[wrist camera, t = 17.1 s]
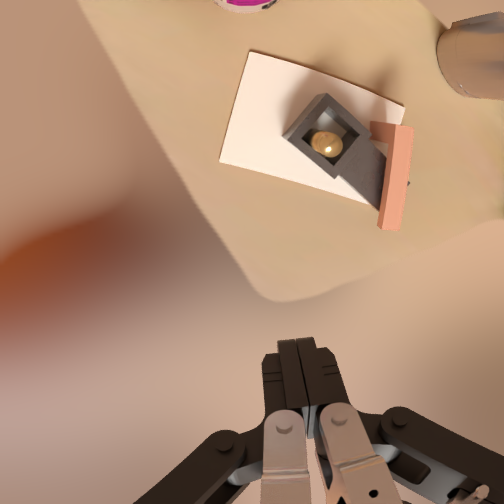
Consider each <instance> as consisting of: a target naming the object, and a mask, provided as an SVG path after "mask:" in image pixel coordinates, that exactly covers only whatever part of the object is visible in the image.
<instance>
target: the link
mask: <svg viewBox="0 0 504 504" xmlns="http://www.w3.org/2000/svg"><path fill="white" fill-rule="evenodd" d="M323 112H325V113H326V114H327V115H329V116H330V117H331V118H332V119H333V120H334V121H335V122H337V123H338V124H339V125H340V126H341V127H342V128H343V129H344V130H345V131H347V132H346V133H345V134H344V136H343V137H342V138H341V140H342V144H343V146H342V150H341V152H340V153H339V154H338V155H337V156H335V157H327V156H326V157H325V158H324V157H322V156H321V155H320V154H319V153H318V152H317V151H315V150H314V149H313V148H312V147H311V146H309V145H308V144H307V143H306V142H304V141H303V140H302V139H301V138H302V137H303V136H304V135H305V133H306V132H307V131H308V130H309V129H310V127H311V126H312V125H313V124H314V123H315V122H316V120H317V119H318V118H319V117H320V116H321V114H322V113H323ZM371 136H372V133H370V132H369V131H368V130H367V129H366V128H365V127H364V126H363V125H362V124H361V123H360V122H359V121H358V120H357V119H356V118H355V117H354V116H353V115H352V114H350V113H349V112H348V111H347V110H346V109H345V108H344V107H343V106H342V105H341V104H339V103H338V102H337V101H336V100H335V99H334V98H333V97H331V96H330V95H329V94H328V93H323V94H318V95H316V96H315V97H314V99H313V100H312V101H311V102H310V103H309V104H308V106H307V107H306V108H305V109H304V110H303V112H302V113H301V114H300V115H299V116H298V118H297V119H296V120H295V121H294V122H293V123H292V125H291V126H290V127H289V128H288V130H287V131H286V132H285V133H284V134H283V136H282V137H283V138H284V139H285V140H286V141H288V142H289V143H290V144H291V145H293V146H294V147H295V148H296V149H298V150H299V151H300V152H301V153H303V154H304V155H305V156H306V157H308V158H309V159H310V160H311V161H312V162H314V163H315V164H316V165H317V166H318V167H319V168H321V169H322V170H323V171H324V172H325V173H327V174H328V175H329V176H331V177H332V178H333V179H335V178H336V177H337V176H339V177H340V178H341V179H342V180H344V181H345V182H346V183H347V184H348V185H349V186H350V187H351V188H352V189H353V190H355V191H356V192H357V193H358V194H359V195H360V196H361V197H362V198H363V199H364V200H365V201H366V202H367V203H368V204H370V205H371V206H372V207H373V208H375V209H376V210H377V211H378V212H379V211H380V204H381V198H382V191H383V184H384V176H385V169H386V160H387V158H386V157H385V156H384V154H383V153H382V152H381V151H380V150H379V149H378V148H377V147H376V146H375V145H374V144H373V143H372V142H371V141H370V140H369V138H370V137H371ZM409 184H410V182H409V181H408V184H407V186H408V185H409Z"/></svg>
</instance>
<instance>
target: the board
mask: <svg viewBox="0 0 504 504" xmlns="http://www.w3.org/2000/svg"><path fill="white" fill-rule="evenodd" d="M323 93H328V94H329V95H330V96H331V97H333V98H334V99H335V100H336V101H337V102H338V103H339V104H341V105H342V106H343V107H344V108H345V109H346V110H347V111H348V112H349V113H350V114H352V115H353V116H354V117H355V118H356V119H357V120H358V121H359V122H360V123H361V124H362V125H363V126H364V127H365V128H366V129H367V130H368V131H370V121H377V122H384V123H391V124H398V125H400V124H401V121H402V118H403V114H404V111H405V108H404V107H402V106H400V105H398V104H396V103H394V102H392V101H389V100H387V99H385V98H383V97H381V96H379V95H376V94H374V93H372V92H369V91H367V90H365V89H362V88H360V87H358V86H355V85H353V84H350V83H348V82H345V81H343V80H340V79H337V78H335V77H332V76H329V75H326V74H324V73H321V72H318V71H315V70H312V69H309V68H306V67H303V66H300V65H297V64H294V63H290V62H287V61H284V60H280V59H277V58H273V57H269V56H266V55H262V54H258V53H254V52H250V53H249V56H248V59H247V63H246V66H245V69H244V73H243V76H242V79H241V83H240V86H239V90H238V93H237V97H236V100H235V104H234V107H233V111H232V114H231V118H230V122H229V125H228V129H227V133H226V137H225V140H224V144H223V148H222V152H221V156H220V160H219V162H222V163H226V164H230V165H234V166H238V167H242V168H246V169H250V170H254V171H258V172H262V173H266V174H269V175H273V176H277V177H280V178H284V179H287V180H291V181H295V182H298V183H301V184H305V185H308V186H312V187H315V188H318V189H322V190H325V191H328V192H331V193H335V194H338V195H341V196H344V197H347V198H350V199H354V200H357V201H360V202H363V203H366V204H368V203H367V202H366V201H365V200H364V199H363V198H362V197H361V196H360V195H359V194H358V193H357V192H356V191H355V190H353V189H352V188H351V187H350V186H349V185H348V184H347V183H346V182H345V181H344V180H342V179H341V178H340V177H339V176H337V177H336V178H335V179H333V178H332V177H331V176H329V175H328V174H327V173H325V172H324V171H323V170H322V169H321V168H319V167H318V166H317V165H316V164H315V163H314V162H312V161H311V160H310V159H309V158H308V157H306V156H305V155H304V154H303V153H301V152H300V151H299V150H298V149H296V148H295V147H294V146H293V145H291V144H290V143H289V142H288V141H286V140H285V139H284V138H283V137H282V136H283V134H284V133H285V132H286V131H287V130H288V128H289V127H290V126H291V125H292V123H293V122H294V121H295V120H296V119H297V118H298V116H299V115H300V114H301V113H302V112H303V110H304V109H305V108H306V107H307V106H308V104H309V103H310V102H311V101H312V100H313V99H314V97H315V96H316V95H318V94H323ZM310 128H314V129H318V130H322V131H326V132H330V133H334V134H336V135H338V136H339V137H340V138H342V137H343V136H344V134H345V133H346V132H347V131H345V130H344V129H343V128H342V127H341V126H340V125H339V124H338V123H337V122H335V121H334V120H333V119H332V118H331V117H330V116H329V115H327V114H326V113H325V112H323V113H322V114H321V116H320V117H319V118H318V119H317V120H316V122H315V123H314V124H313V125H312V126H311V127H310ZM301 139H302V138H301ZM369 140H370V141H371V142H372V143H373V144H374V145H375V146H376V147H377V148H378V149H379V150H380V151H381V152H382V153H383V154H384V156H385V157H386V158H387V151H388V144H386V143H383V142H379V141H376V140H372V139H369ZM315 151H316V150H315ZM317 152H318V151H317ZM318 153H319V152H318ZM319 154H320V155H321V156H322V157H324V158H325V157H326V156H325V155H323V154H321V153H319ZM369 205H370V204H369Z"/></svg>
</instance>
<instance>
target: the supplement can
mask: <svg viewBox="0 0 504 504" xmlns="http://www.w3.org/2000/svg"><path fill="white" fill-rule="evenodd" d="M213 2H214V3H215V4H217V5H219V6H220V7H222V8H223V9H225V10H228V11H232V12H236V13H256V12H259V11H263V10H266V9H268V8H270V7H271V6H273V5H274V4H276V3H278V2H279V0H213Z"/></svg>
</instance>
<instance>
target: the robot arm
mask: <svg viewBox="0 0 504 504" xmlns="http://www.w3.org/2000/svg"><path fill="white" fill-rule="evenodd" d="M437 57H438V63H439V66H440V69H441V71H442V73H443V76H444V77H445V79H446V80H447V82H448V83H449V85H450V86H451V87H452V88H453V89H454V90H455V91H457V92H458V93H459V94H461V95H463V96H466V97H471V98H480V99H481V98H484V99H494V100H504V13H503V12H494V13H490V14H485V15H481V16H477V17H472V18H469V19H464V20H461V21H457V22H453V23H452V26H451V28H450V29H449V30H447V31H445V32H444V33H443V34H442V35H441V37H440V39H439V41H438V46H437ZM277 348H278V353H273V354H266V355H265V357H264V359H263V362H262V374H263V375H262V376H263V387H264V388H263V389H264V400H265V417H264V419H263V421H262V423H261V424H260V425H259V426H257V427H256V428H254V429H252V430H250V431H247V432H244V433H241V434H238V433H236V432H234V431H231V430H220V431H217V432H215V433H213V434H211V435H210V436H209V437H208V438H207V439H206V440H205V441H204V442H203V443H202V444H200V445H199V446H198V447H197V448H196V449H195V450H194V451H193V452H192V453H191V454H190V455H189V456H188V457H187V458H186V459H184V460H183V461H182V462H181V463H180V464H179V465H178V466H177V467H175V468H174V469H173V470H172V471H171V472H170V473H169V474H168V475H166V476H165V477H164V478H163V479H162V480H161V481H160V482H158V483H157V484H156V485H155V486H154V487H153V488H151V489H150V490H149V491H148V492H147V493H145V494H144V495H143V496H142V497H140V498H139V499H138V500H137V501H136V502H134V503H133V504H231V503H232V502H233V501H234V500H235V499H236V498H237V497H238V496H239V495H240V494H241V493H242V492H243V490H244V489H245V488H246V487H247V486H248V485H249V484H250V482H252V481H255V480H258V479H261V502H260V504H311V488H310V475H309V472H308V465H307V450H306V433H307V438H308V439H311V438H314V440H315V446H316V448H315V456H316V460H317V464H318V467H319V471H320V474H321V478H322V481H323V485H324V489H325V493H326V504H411V503H409V502H407V501H403V500H401V498H400V496H399V493H398V490H397V488H396V486H395V484H394V481H393V480H395V481H396V482H398V483H400V484H401V485H403V486H405V487H407V488H408V489H410V490H412V491H414V492H416V493H417V494H419V495H421V496H423V497H425V498H427V499H428V500H431V501H432V502H434V503H436V504H504V456H502V455H500V454H498V453H496V452H494V451H491V450H489V449H487V448H485V447H483V446H481V445H479V444H477V443H475V442H472V441H470V440H468V439H466V438H464V437H462V436H460V435H458V434H456V433H454V432H452V431H450V430H448V429H446V428H444V427H442V426H440V425H438V424H436V423H435V422H433V421H431V420H429V419H427V418H425V417H423V416H421V415H419V414H417V413H416V412H414V411H412V410H410V409H408V408H405V407H393V408H390V409H388V410H387V411H386V412H385V413H384V414H383V415H380V414H367V413H362V412H360V411H358V410H356V409H355V408H354V407H353V406H352V405H351V404H350V402H349V399H348V396H347V393H346V390H345V386H344V383H343V381H342V377H341V374H340V371H339V368H338V366H337V362H336V359H335V356H334V354H333V353H332V352H331V351H330V350H329V349H328V348H327V347H324V348H316V344H315V341H314V338H313V337H307V338H298V339H296V340H295V339H290V340H280V341H277Z"/></svg>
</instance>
